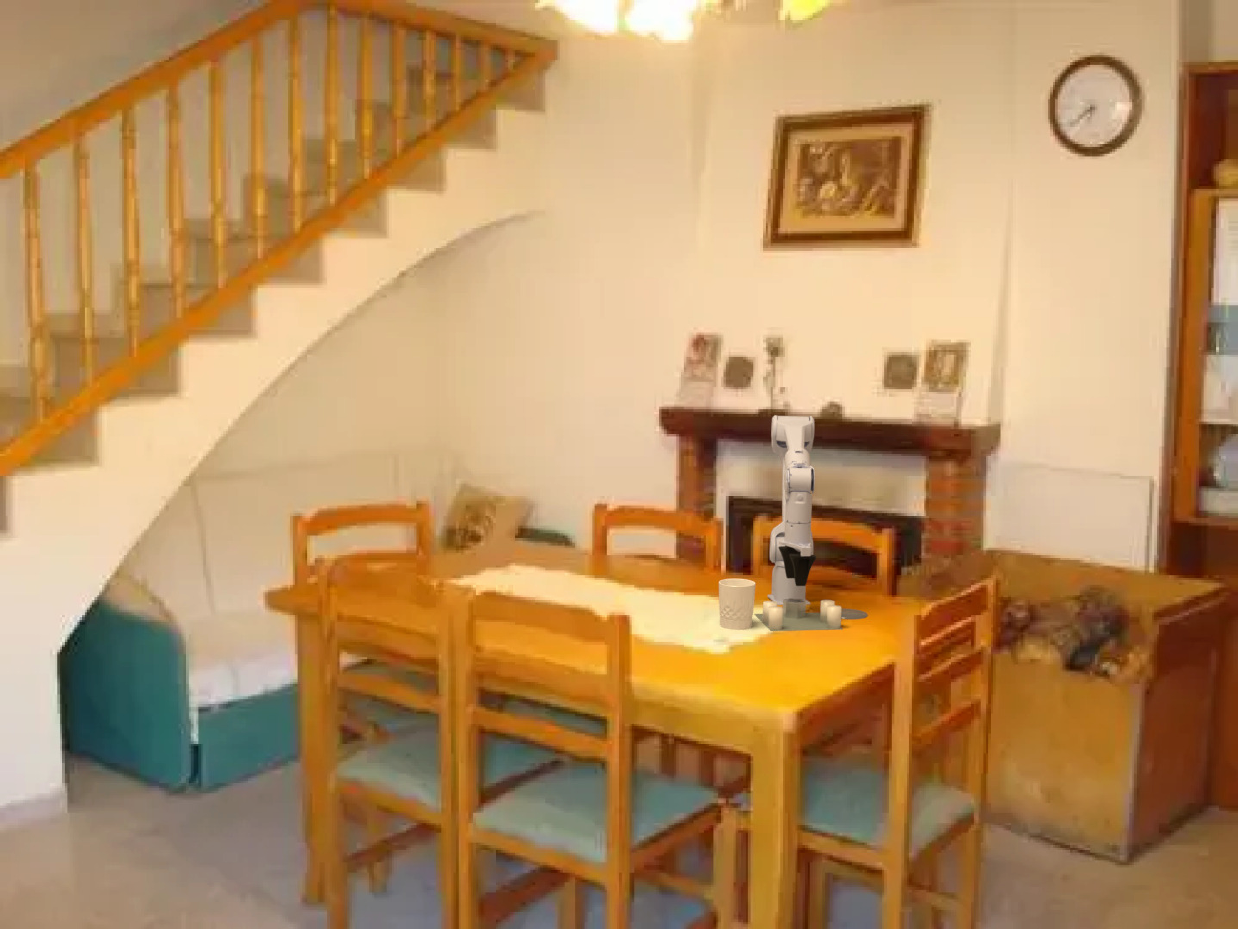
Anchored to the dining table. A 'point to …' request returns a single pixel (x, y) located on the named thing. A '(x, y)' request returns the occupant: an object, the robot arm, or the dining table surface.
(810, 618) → the mat
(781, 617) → the beige capsules
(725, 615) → the white cup
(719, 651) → the dining table surface
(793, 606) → the faceted crystal gem
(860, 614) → the grey round coaster
